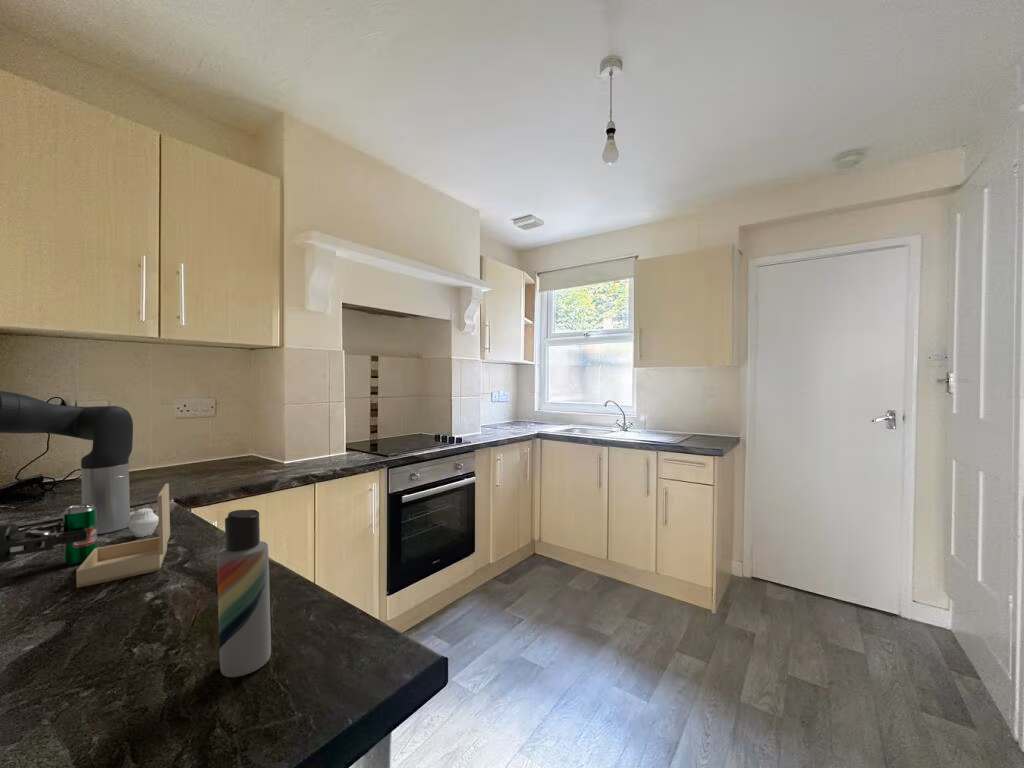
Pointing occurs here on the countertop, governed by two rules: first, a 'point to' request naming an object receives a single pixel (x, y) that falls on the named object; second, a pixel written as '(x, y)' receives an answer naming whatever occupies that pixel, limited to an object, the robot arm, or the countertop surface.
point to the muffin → (143, 522)
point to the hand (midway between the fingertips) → (92, 529)
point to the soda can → (80, 520)
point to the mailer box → (129, 553)
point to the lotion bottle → (243, 596)
